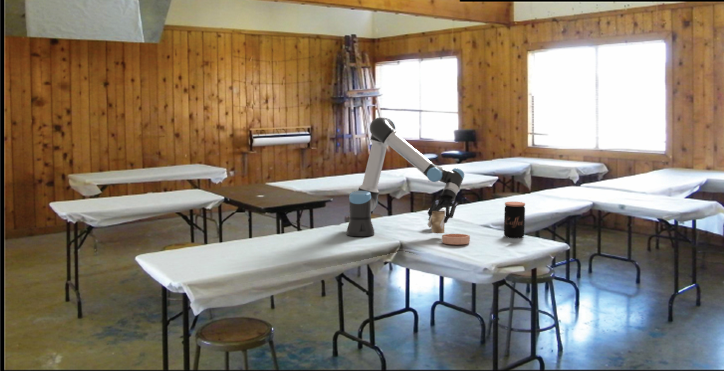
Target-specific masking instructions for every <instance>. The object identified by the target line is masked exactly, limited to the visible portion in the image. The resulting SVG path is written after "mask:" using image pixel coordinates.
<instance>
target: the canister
mask: <svg viewBox="0 0 724 371" xmlns="http://www.w3.org/2000/svg"><path fill="white" fill-rule="evenodd" d="M445 214H446V213H445V211H432V229H431V233H432V234H445V226H444V227H443V229H441V227H440V224H441V221H442V219H443V217H444V216H446V215H445Z"/></svg>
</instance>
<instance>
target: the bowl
mask: <svg viewBox="0 0 724 371" xmlns="http://www.w3.org/2000/svg"><path fill="white" fill-rule="evenodd" d="M470 239H471V236H470V235H469V234H466V233H443V234H441V241H442V242H441V243H442V244H445V245H454V246H455V245H467V244H470V242H471V240H470Z"/></svg>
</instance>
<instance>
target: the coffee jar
mask: <svg viewBox="0 0 724 371" xmlns="http://www.w3.org/2000/svg"><path fill="white" fill-rule="evenodd" d="M504 205H505V206H504V214H503V215H504V219H503V220H504V222H503V235H504V236H505V237H506V238H508V237H509V238H510V239H520V238H521V239H522V238H524V236H525V223H526V222H525V218H526V207H525V206H526V203H525V202H523V201H505V202H504ZM509 238H508V239H509Z"/></svg>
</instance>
